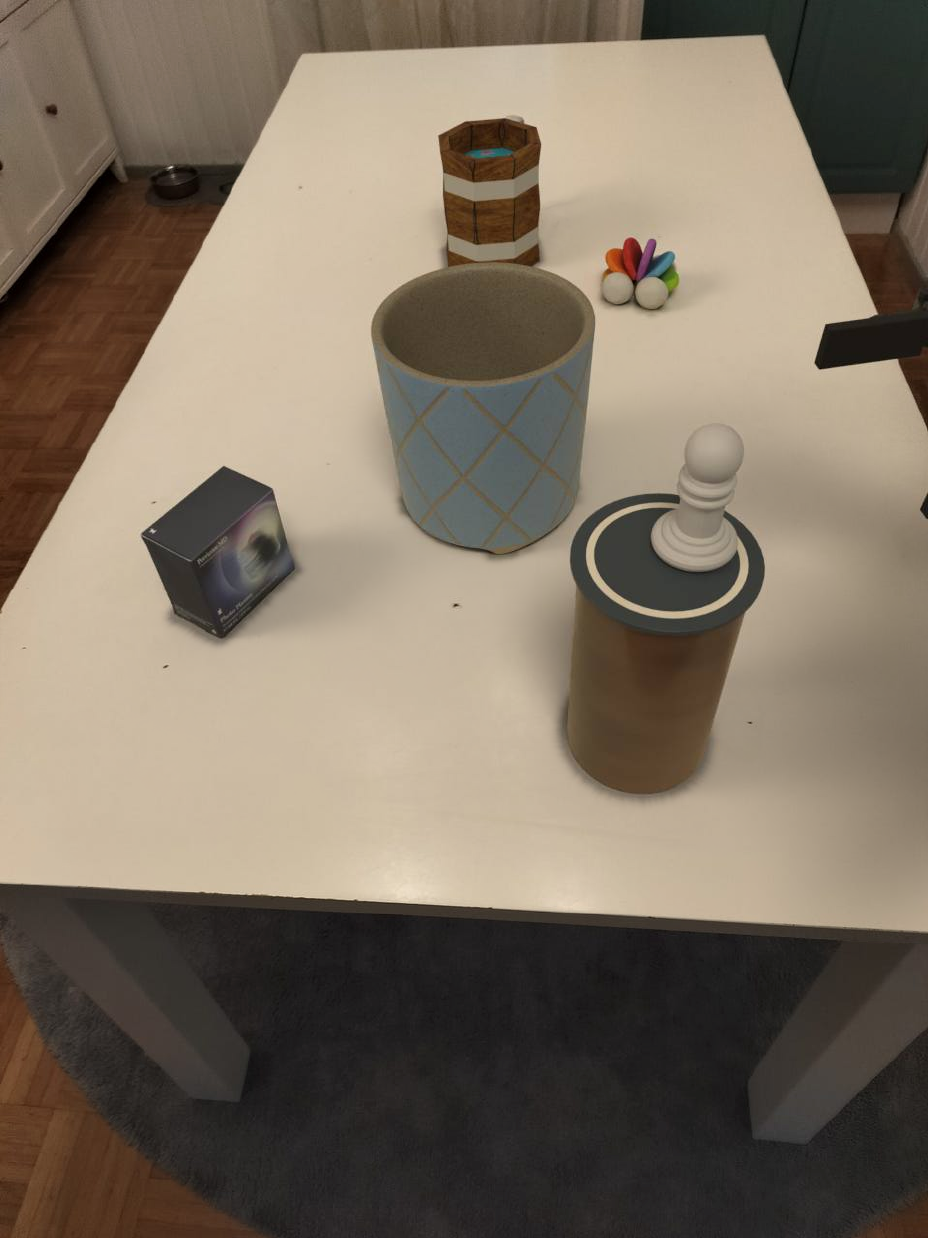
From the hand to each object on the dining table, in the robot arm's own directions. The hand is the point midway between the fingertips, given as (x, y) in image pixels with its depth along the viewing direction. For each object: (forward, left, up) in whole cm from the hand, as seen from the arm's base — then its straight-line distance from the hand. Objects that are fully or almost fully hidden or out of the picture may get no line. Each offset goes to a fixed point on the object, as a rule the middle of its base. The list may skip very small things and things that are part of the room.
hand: (871, 414), depth 49 cm
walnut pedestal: (+3, +10, -29) cm, 31 cm away
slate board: (+3, +10, -9) cm, 14 cm away
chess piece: (+3, +8, -9) cm, 13 cm away
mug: (+79, -18, -30) cm, 86 cm away
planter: (+34, +7, -30) cm, 46 cm away
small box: (+34, +34, -30) cm, 57 cm away
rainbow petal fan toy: (+58, -27, -30) cm, 70 cm away
